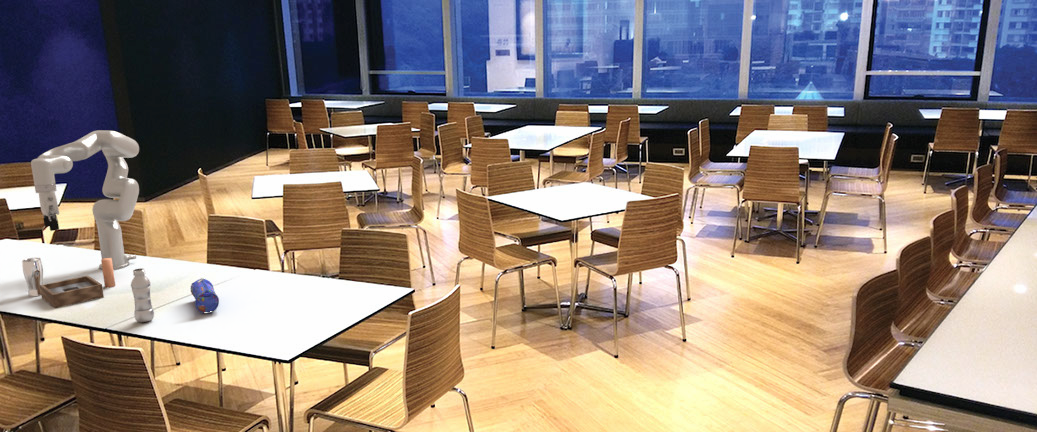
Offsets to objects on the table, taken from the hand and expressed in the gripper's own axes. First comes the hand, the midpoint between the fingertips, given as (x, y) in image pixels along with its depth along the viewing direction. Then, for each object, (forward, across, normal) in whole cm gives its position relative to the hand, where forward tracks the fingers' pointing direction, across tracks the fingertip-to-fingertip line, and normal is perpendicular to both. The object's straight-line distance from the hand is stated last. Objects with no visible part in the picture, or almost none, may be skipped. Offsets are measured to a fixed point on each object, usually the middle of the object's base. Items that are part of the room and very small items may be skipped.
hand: (51, 228), depth 328 cm
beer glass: (+26, -4, +10) cm, 28 cm away
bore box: (+26, -19, 0) cm, 32 cm away
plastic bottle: (+26, -70, -13) cm, 75 cm away
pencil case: (+26, -69, -36) cm, 82 cm away
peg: (+26, -13, -16) cm, 33 cm away
